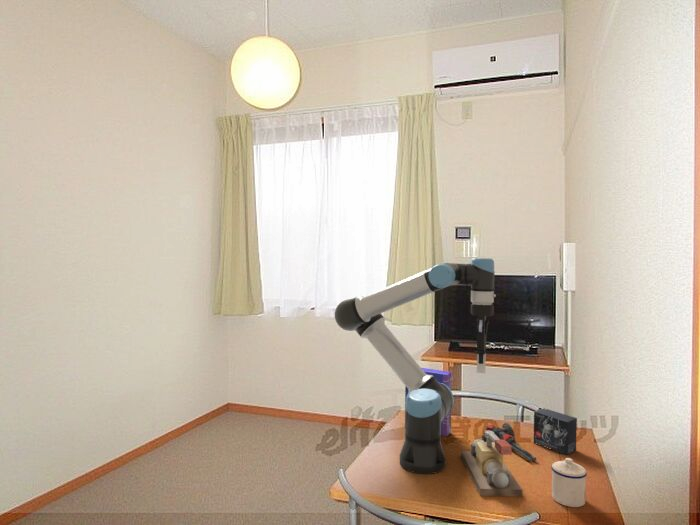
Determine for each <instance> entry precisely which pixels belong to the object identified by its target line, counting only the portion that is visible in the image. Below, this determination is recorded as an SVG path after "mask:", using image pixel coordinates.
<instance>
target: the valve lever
mask: <svg viewBox="0 0 700 525" xmlns="http://www.w3.org/2000/svg"><path fill="white" fill-rule="evenodd" d="M484 433H485V437H487V438H490V439H491V440H492V441H493V442H494V443H495V449H496V450H497V451H498V452H499V453H500V454H501V455H503V456H506V455H510V456H511V455H512V450H513V449H512V446H511V445H510V444H509V443H508V442H507V441H506V440H505V439H504V440H500V439H499V438H498V437H497V436H496V435H495V434H494V432H493V431H489V430H487V431H486V430H485V431H484Z"/></svg>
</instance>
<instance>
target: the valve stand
mask: <svg viewBox="0 0 700 525" xmlns="http://www.w3.org/2000/svg"><path fill="white" fill-rule="evenodd" d="M481 439H482V438H479V439H475V440H474V441H473V442H472V443H471V444H470V447H471V448H470V450H461V451H460V458H461V459H462V461H463V464H464V466H465V468H466V470H467V472H468V474H469V476H470V477H471V480H472V482H473V484H474V486H475V488H476V489H477V490H476V491H477V492H478V494H479V496H481V497H482V496H483V497H485V496H486V497H489V496H490V497H523V488H522V487H521V485H520V484H519V482H518V481H517V480H516V479H515V477H514V475H513V474H512V472H511V470H510V469H509V468H508V467H507V465H506V463H504V455H501V454H500V453H499V452H498V451H497V450H496V449H495V443H494V442H492V440H491V439H490V438H487V442H484V441H483V440H481Z"/></svg>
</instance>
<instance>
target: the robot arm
mask: <svg viewBox="0 0 700 525" xmlns="http://www.w3.org/2000/svg"><path fill="white" fill-rule="evenodd" d="M451 286H470V288H471V289H470V302H471V304H470V314H471V315H472V316H477V319H476V320H475V327H476V328H475V330H476V331H475V333H476V351H475V350H474V354H476V373H478V374H486V362H487V361H486V360H487V359H486V354H488V353H489V351H488V350H487V333H488V325H489V320H487V317H492V316H494V314H495V313H494V310H495V309H494V308H495V307H494V304H493V303H494V302H495V300H494V299H495V298H496V297H497V296H496V293H495V261H494V259H493V258H487V257H486V258H484V257H483V258H481V257H478V258H477V257H475V258H472V259H471V261H470V263H453V262H443V263H438V264H435V265H434V266H432V267H431V268H429V269H426V270H423V271H421V272H419V273H417V274H414V275H413V276H409V277H407V278H406V279H403V280H401V281H398V282H396V283H393V284H391V285H389V286H386V287H384V288H381V289H379V290H377V291H375V292H374V291H373V292H372V293H370V294H367V295H365V296H361V295H359V296H355V297H353V298H349V299H345V300H341V301H340V303H339V304H338V305H337V306H336V308H335V310H334V311H335V312H334V320H335V322H336V324H337V325H338V326H339V328H341V329H342V330H345V331H350V332H353V331H355V332H356V333H357V335H359V337H360V338H362V339H367V341H368V342H370V344H371V345H372V347H373V348H374V349H375V351H377V352H378V353H379V356H381V358H382V359H383V360H384V361H385V362H386V364H387V365H388V366H389V367H390V369H391V370H392V371H393V372H394V373H395V375H396V376H397V377H398V378H399V380H400V381H401V382H402V383H403V384H404V386H406V387H407V388H408V390H409V393H408V394H407V396H406V402H405V401H404V403H405V404H404V430H405V431H404V441H403V444H402V447H401V450H400V453H399V465H400V466H401V467H402V468H403V469H404V470H407V471H409V472H412V473H417V474H423V475H428V474H429V475H430V474H435V473H440V472H442V471H444V469H445V468H446V467H447V466H446V464H447V462H446V461H447V459H446V455H445V452H444V449H443V445H442V443H441V437H442V436H441V422H442V420H443V419H444V418H445V417H446V416H447V415H448V414H449V413H450V411H451V412H452V409H453V406H454V403H455V402H454V395H453V391H452V389H451V390H450V389H449V387H447V386H446V385H445V384H443V383H439V382H438V381H437V380H436V379H435V377H434V376H433V375H427V374H426V373H425V372H424V371H423V370H422V368H423V367H421V366H420V364H418V362H417V361H416V360H415V359H414V358H413V357H412V355H411V354H410V353H409V352H408V351H407V349H406V348H405V347H404V346H403V344H402V343H401V342H400V341H399V340H398V338H397V337H396V336H395V335H394V333H393V332H392V331H391V330H390V329H389V327H388V326H387V325H386V324H385V321H386V320H385V317H384V315H383V313H385V312H387V311H391V310H393V309H396V308H397V307H400V306H403V305H405V304H407V303H410V302H412V301H415V300H417V299H420V298H423V297H425V296H427V295H430V294H432V293H435V292H437V291H440V290H443V289H445V288H447V287H451Z"/></svg>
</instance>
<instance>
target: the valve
mask: <svg viewBox="0 0 700 525" xmlns="http://www.w3.org/2000/svg"><path fill="white" fill-rule="evenodd" d="M487 430H489V431H493V432H494V434H495V435H496V436H497V437H498V438H499V439H500V440H504V439H505V440H506V441H507V442H508V443H509V444H510V445H511V446H512V450H513V451H515V452H516V453H517V454H519V455H521V456H522V457H523V458H525V459H526V460H528V461H529V462H532V461H534V462H535V461H537V457H536V456H535V455H533V454H532V453H530V452H528V451H527V450H526V449H524V448H523V447H522V446H520V445H518V444H517V440H516V438H515V432H514V428H513V427H512V425H511V424H510V423H507V422H506V423H503V424H502V428H501V427H498V426H494V425H492V424H488V425H486V427H485V431H487ZM480 439H481V440H483V441H484V442H487V437H485V432H484V433H483V435H482V436H481V438H480ZM492 442H493V441H492Z"/></svg>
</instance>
